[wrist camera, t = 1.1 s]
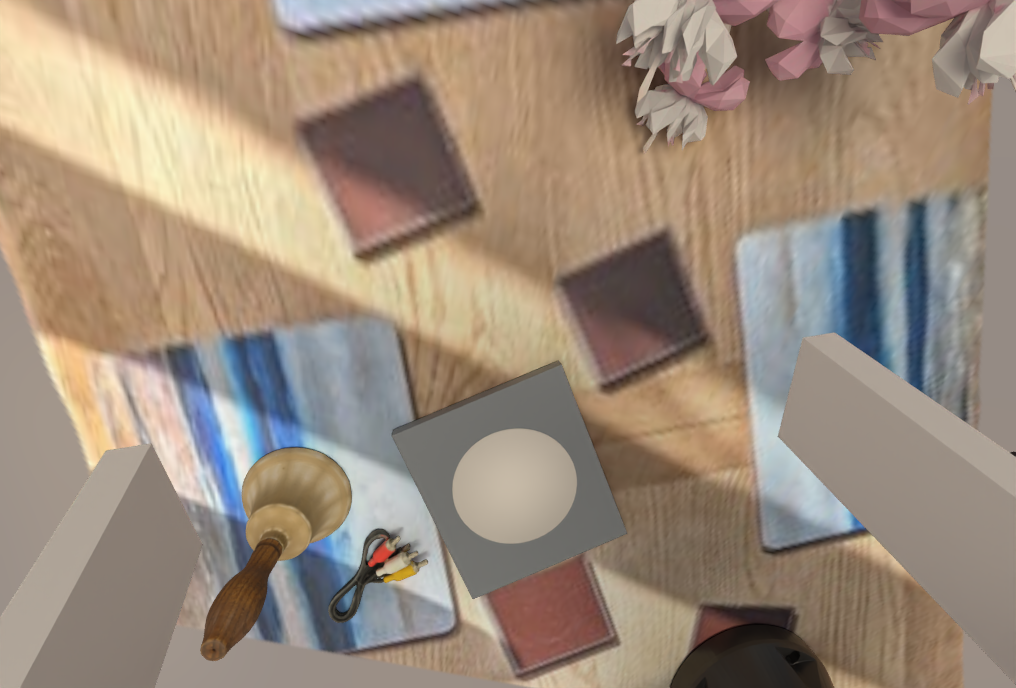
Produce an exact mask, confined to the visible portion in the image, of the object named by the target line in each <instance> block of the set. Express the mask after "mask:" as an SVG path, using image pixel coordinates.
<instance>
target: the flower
mask: <svg viewBox="0 0 1016 688" xmlns="http://www.w3.org/2000/svg"><path fill="white" fill-rule="evenodd" d="M765 10H767V11H768V12H769V17H768V21H767V26H768V27H769V28H770V29H771V30H772V32H773V33H774V34H775V35H776V36H777V37H778V38H783V39H792V40H801V41H803V42H801V43H799V44H797V45H795V46H793V47H790V48H788V49H786V50H784V51H782V52H780V53H778V54H776V55H773V56H771V57H769V58H767V59H765V60H766V63H767V65H768V68H769V69H770V71H771V72H772V74H773V75H774V76H775V77H776V78H777V79H778V80H779V81H780V80H788V79H796V78H798V77H799V76H800V75H801V74H802V73H803V72H805V71H806V70H807V69H811V68H818V67H819V66H820V65H821V64H822V62H823V64H824V66H825V68H826V70H827V72H828V73H832V74H848V75H851V73H852V72H853V71H854V69H853V67H852V65H851V64H850V62H849V60H848V58H847V57H868V58H871V59H874V60H876V58H875V56H874V53H873V50H872V48H871V47H867V46H868V43H867V42H869V43H871V44H873V45H874V46H876V47H878V46H877V45H876V44H874V43H872V42H883V41H882V39H881V38H880V36H879V34H895V35H903V36H909V35H912V34H914V33H917V32H919V31H922V30H924V29H927V28H929V27H932V26H934V25H937V24H940V23H942V22H945V21H947V20H950V19H952V18H954V19H953V20H952V22H951V23H950V24H949V26H948V27H947V28H946V30H945V31H944V32H943V34H942V35H941V40H940V49H939V50H938V52H937V53H936V54H935V56H934V57H933V58H932V63H933V72H934V78H935V84H936V89H937V90H940V91H942V92H945V93H947V94H950V95H952V96H955V97H957V98H958V97H959V95H960V93H961V91H962V89H963V86H964V88H965V89H970V90H972V91H971V95H970V98H969V102H968V104H970V103H971V102H972V101H973V100H975V99H976V98H977V97H978V96H979V95H982V96H983V94H984V89H985V83H987V84H988V89H993V86H994V83H996V82H998V78H999V76H1001V77H1005V78H1008V79H1010V80H1011V82H1012V85H1013V87H1014V89H1015V91H1016V0H636V1H635V2H634V3H633V4H631V5H629V7H628V10H627V12H626V15H625V17H624V19H623V22H622V24H621V26H620V29H619V31H618V33H617V40H616V44H617V43H619V42H621V41H623V40H625V39H626V38H628V37H630V36H632V35H633V40H634V47H633V48H631V49H630V50H628V51H627V52H626V53H624V54H623V55H630V57H629V58H628V59H627V60H626V61H625V62H624V63H623V64H622V65H621V66H631V59H632V58H634V57H635V56H637V55H639V54H640V56H639V58H638V60H637V62H636V64H635V67H638V68H642V69H648V68H649V69H650V70H649V72H648V74H647V76H646V77H645V79H644V81H643V83H642V85H641V87H640V89H639V94H638V100H637V106H636V109H635V114H636V117H637V118H639V117H642V116H643V118H642V120H641V121H640V122H639V123H637V124H636V125H642V124H643V123H644V122H645V120H646V119H647V118H648V120H647V122H646V123H647V124H646V123H645V124H646V126H647V127H648V129H650V130H651V132H652V133H653V134H652V135H651V137H650V138H649V140H648V141H647V143H646V144H645V146H644V147H643V149H644V154H645V153H646V152H647V150H648V149H649V147H650V145H651V144H652V142H653V140H654V139H655V137H656V135H657V134H658V132H659V131H660V130H661V129H663V128H664V127H666V126H667V125H668V128H667V131H668V132H667V140H668V147H669V142H671V144H672V145H673V144H674V138H675V137H677V136H679V135H680V134H682V133H683V141H682V150H683V148H684V147H685V145H686V144H687V142H693V141H701V140H702V139H703V138H704V137H705V133H706V126H707V118H708V116H707V114H706V112H705V109H704V107H703V106H705V107H707V108H709V109H711V110H714V111H722V110H734V109H735V108H736V107H737V106H738V105H739V104H740V103H741V102H742V101H744V100H745V98H746V94H747V91H748V87H749V83H750V81H748V80H747V79H745V78H744V70H743V69H742V68H740V67H738V66H736V65H735V66H733V67H732V68H731V69H729V70H728V71H726V70H727V68H728V67H729V66H730V65H731V64H732V62H733V61H734V60H735V59H736V58H737V54H736V50H735V47H734V43H733V39H732V38H731V36H730V34H729V33H730V29H731V26H732V25H733V26H736V25H739V24H741V23H743V22H745V21H747V20H750V19H752V18H754V17H756V16H758V15H759V14H761V13H762V12H763V11H765ZM723 23H725V24H723ZM857 41H858V42H859V43H860V44H861V45H860V44H859V43H858V42H857ZM878 48H879V47H878ZM657 67H659V69H660V70H661V71H662V73H663V74H664V75H665V80H666V81H667V82H668V83H669V84H665V85H661V86H657V87H656V88H655V90H649V91H648V88H649V86H650V83H651V81H652V78H653V76H654V73H655V71H656V68H657ZM706 68H707V72H708V77H709V82H706V83H703V84H701V83H702V82H703V80H704V79H705V77H706V75H707V74H706V72H705V69H706ZM725 71H726V72H725ZM724 72H725V73H724ZM977 79H978V80H979V81H980V85H979V90H977ZM642 126H643V125H642Z"/></svg>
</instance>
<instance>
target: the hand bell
mask: <svg viewBox="0 0 1016 688" xmlns="http://www.w3.org/2000/svg"><path fill="white" fill-rule="evenodd" d="M351 500H352V495H351V488H350V484H349V481H348V478H347V476H346V475H345V473H344V471H343V470H342V469H341V467H340V466H339V465H338V464H337V463H336V462H334V461H333V460H332V459H330V458H329V457H327V456H326V455H324V454H322V453H320V452H317V451H314V450H311V449H307V448H297V447H295V448H284V449H280V450H276V451H273V452H271V453H269V454H267V455H265V456H264V457H262V458H261V459H259V460H258V461H257V462H256V463H255V464H254V465H253V466H252V467H251V469H250V470H249V471H248V473H247V475H246V477H245V479H244V482H243V486H242V502H243V507H244V510H245V512H246V515H247V517H248V518H249V520H248V522H247V526H246V538H247V541H248V543H249V545H250V546H251V548H252V549H253V550H254V551H253V553H252V555H251V557H250V559H249V561H248V563H247V565H246V567H245V568H244V569H243V570H242V571H241V572H239V573H238V574H237V575H235V576H234V577H233V578H232V579H231V580H230V581H228V583H227V584H226V585H225V586H224V587H223V588H222V590H221V591H220V592H219V594H218V595H217V597H216V599H215V600H214V602H213V604H212V606H211V608H210V610H209V612H208V615H207V618H206V624H205V631H204V639H203V642H202V645H201V650H200V651H201V654H202V656H203V657H204V658H205V659H207V660H210V661H217V660H219V659H222V658H223V657H224V656H225V655H226V654H227V652H228V651H229V650H230V649H231V648H232V647H233V646H234V645H235V644H236V643H238V642H239V641H240V640H241V639H242V638H243V637H244V636H245V635H246V634H247V633H248V632H249V631H250V629H251V628H252V627H253V625H254V624H255V622H256V620H257V619H258V617H259V614H260V612H261V610H262V607H263V605H264V602H265V598H266V594H267V581H268V577H269V574H270V573H271V571H272V569H273V568H274V566H275V564H276V563H277V561H282V560H288V559H291V558H294V557H296V556H298V555H299V554H301V553H302V552H303V551H304V550H305V549H306V548H307V547H308V545H309V543H313V542H316V541H319V540H321V539H323V538H325V537H327V536H329V535H330V534H332V533H333V532H334V531H335V530H337V529H338V528H339V527H340V526H341V524H342V523H343V522H344V520H345V519H346V517H347V515H348V513H349V510H350V507H351Z"/></svg>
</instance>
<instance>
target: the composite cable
mask: <svg viewBox="0 0 1016 688" xmlns="http://www.w3.org/2000/svg"><path fill="white" fill-rule="evenodd" d="M380 538H384V539H386V540H385V541H384V542H383V543H382V544H381V545H380V546H379V547H378V548H377V549H376V550H375V551H374V552H373V557H372V558H371V559H370V560H369V561H368V565H367V566H366V555H367V551H368V547H369V545H370V544H371V543H372V542H373V541H374V540H376V539H380ZM399 541H400V536H397V537H396V538H395V539H391V538H390V535H389V533H388V532H387V531H386V530H383V529H380V530H375V531H373V532H372V533H371V534H370V535H369V536H368V537H367V539H366V541H365V543H364V548H363V554H362V555H363V556H362V561H361V565H360V567H359V570H358V572H357V573H356V575H355V576H354V577H353V578H352V579H351V580H350V581H349V582H348V583H347V584H346V585H345V586H344V587H343V588H342V589H341V590H340V591H339V592H338V593H337V594H336V595H335V596H334V598H333V599H332V601H331V603H330V605H329V610H328V611H329V615H330V617H331V618H332V620H334V621H335V622H337V623H340V622H341V623H343V622H346V621H348V620H350V619H351V618H352V617H353V616H354V615H355V614H356V612H357V609H358V607H359V604H360V600H361V597H362V593H363V589H364V587H365V585H366V584H368V583H371V582H373V583H382V582H385V583H387V582H389V581H392V580H396V581H400V580H403V579H405V578H408V577H410V576H413V575H415V574H417V572H419V568H420V567H422V566H424V565H427V564H428V560H427V559H425V560H423V561H422V562H414V561H411V559H412V558H414V557H415V556H417V555H418V551H415V552H413V553H411V554H409V553H408V552H406V551H408V550H410V544H407V545H406V546H404V547H403V548H401V547H399V548H398V549H396V543H398V542H399ZM386 573H387V574H386ZM382 577H384V578H383V579H381V578H382ZM377 578H379V579H377ZM355 585H357V589H356V591H355V594H354V597H353V601H352V604H351V607H350V608H349V610H348V611H346V612H344V613H341V612H339V611H338V610H337V609H336V605H337V603H338V602H339V600H340V599H341V598H342V597H343V596H344V595H345V594H346V593H348V591H350V590H351V588H352V587H354V586H355Z"/></svg>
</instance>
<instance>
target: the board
mask: <svg viewBox="0 0 1016 688" xmlns="http://www.w3.org/2000/svg"><path fill="white" fill-rule="evenodd" d="M392 437H393V439H394V441H395V443H396V445H397V447H398V450H399V452H400V454H401V456H402V458H403V460H404V462H405V464H406V466H407V468H408V470H409V472H410V474H411V476H412V478H413V480H414V482H415V484H416V486H417V488H418V490H419V492H420V494H421V496H422V498H423V500H424V502H425V504H426V506H427V508H428V510H429V512H430V514H431V516H432V518H433V520H434V522H435V524H436V526H437V528H438V530H439V532H440V534H441V536H442V538H443V540H444V542H445V544H446V546H447V548H448V550H449V552H450V554H451V556H452V558H453V560H454V562H455V564H456V566H457V568H458V570H459V573H460V575H461V577H462V579H463V581H464V583H465V585H466V587H467V589H468V591H469V593H470V595H471V597H472V599H475V598H477V597H480V596H482V595H484V594H487V593H489V592H491V591H494V590H496V589H498V588H501V587H503V586H505V585H508V584H510V583H513V582H515V581H517V580H520V579H522V578H524V577H527V576H529V575H531V574H534V573H536V572H538V571H541V570H543V569H545V568H548V567H550V566H552V565H555V564H557V563H559V562H562V561H564V560H566V559H569V558H571V557H574V556H576V555H578V554H581V553H583V552H585V551H588V550H590V549H592V548H595V547H597V546H599V545H602V544H604V543H606V542H609V541H611V540H613V539H616V538H618V537H620V536H623V535H625V534H627V532H626V529H625V526H624V524H623V521H622V519H621V516H620V514H619V511H618V508H617V506H616V503H615V501H614V498H613V496H612V493H611V490H610V488H609V485H608V483H607V480H606V478H605V475H604V472H603V470H602V467H601V465H600V462H599V460H598V457H597V454H596V452H595V449H594V447H593V444H592V442H591V439H590V436H589V434H588V431H587V429H586V426H585V424H584V421H583V418H582V416H581V413H580V411H579V408H578V406H577V403H576V400H575V398H574V395H573V393H572V390H571V388H570V385H569V382H568V380H567V377H566V375H565V372H564V370H563V367H562V364H561V363H560V362H559V361H556V362H554V363H551V364H549V365H546V366H544V367H542V368H539V369H537V370H535V371H532V372H530V373H527V374H525V375H523V376H520V377H518V378H515V379H513V380H511V381H508V382H506V383H504V384H501V385H499V386H496V387H494V388H492V389H489V390H487V391H484V392H482V393H480V394H477V395H475V396H473V397H470V398H468V399H465V400H463V401H461V402H458V403H456V404H453V405H451V406H449V407H446V408H444V409H442V410H439V411H437V412H434V413H432V414H430V415H427V416H425V417H422V418H420V419H418V420H415V421H413V422H411V423H408V424H406V425H403V426H401V427H399V428H396V429H394V430H393V432H392Z"/></svg>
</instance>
